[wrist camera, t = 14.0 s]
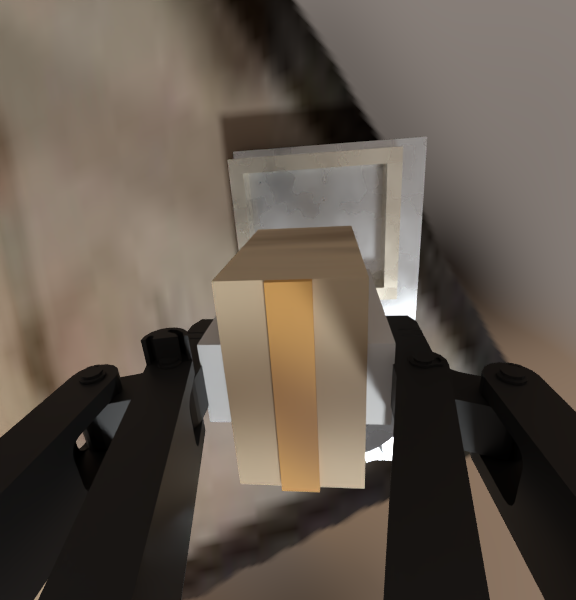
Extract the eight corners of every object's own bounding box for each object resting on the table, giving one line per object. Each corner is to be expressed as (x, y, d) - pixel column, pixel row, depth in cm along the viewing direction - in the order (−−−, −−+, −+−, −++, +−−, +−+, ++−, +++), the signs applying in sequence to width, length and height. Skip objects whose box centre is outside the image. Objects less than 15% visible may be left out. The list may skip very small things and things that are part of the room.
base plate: (235, 151, 28) (226, 152, 26) (423, 136, 27) (435, 135, 24) (270, 450, 40) (266, 473, 37) (404, 452, 38) (410, 476, 35)
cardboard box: (258, 229, 16) (209, 283, 9) (351, 225, 16) (369, 280, 9) (270, 368, 19) (239, 489, 12) (351, 368, 18) (364, 493, 11)
